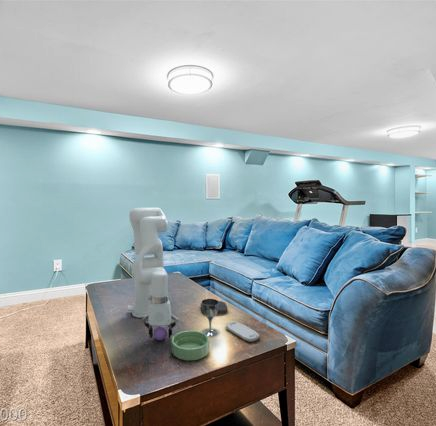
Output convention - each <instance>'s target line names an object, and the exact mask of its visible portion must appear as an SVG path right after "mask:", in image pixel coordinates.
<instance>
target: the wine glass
mask: <svg viewBox="0 0 436 426" xmlns="http://www.w3.org/2000/svg"><path fill="white" fill-rule="evenodd" d="M218 301H219V300H218V299H214V298H204V299H203V300H201V303H202V310H203V313H202V314H203V315H204V317H206V319H207V320H208V325H209V328H206V329H204V330H203V331H202V333H204V334H206V335H207V336H208V337H214V336H217V335H218V334H219V331H218V330H217V329H214V328H212V321H213V320H214V318H215V317H216V316H217V315H218V314H217V312H218ZM202 310H201V311H202Z"/></svg>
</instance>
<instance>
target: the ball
mask: <svg viewBox="0 0 436 426" xmlns="http://www.w3.org/2000/svg"><path fill="white" fill-rule="evenodd" d="M167 335H168V331H167V328H166V327H165V326H156V328H155V329H154V330H153V336H154V339H155V340H157V341H164V340H165V339H166V338H167Z"/></svg>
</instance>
